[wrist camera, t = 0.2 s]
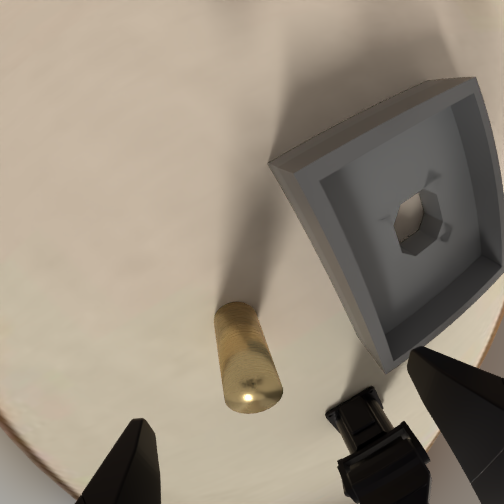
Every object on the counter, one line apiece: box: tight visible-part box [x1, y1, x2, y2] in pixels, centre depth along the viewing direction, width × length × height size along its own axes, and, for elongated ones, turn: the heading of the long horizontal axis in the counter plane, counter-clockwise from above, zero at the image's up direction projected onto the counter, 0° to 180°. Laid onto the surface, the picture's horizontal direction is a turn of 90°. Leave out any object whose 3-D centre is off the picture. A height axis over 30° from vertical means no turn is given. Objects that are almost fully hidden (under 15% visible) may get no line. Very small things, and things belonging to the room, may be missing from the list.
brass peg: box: [214, 302, 283, 414], centre depth 19 cm, size 3×3×8 cm
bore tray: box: [268, 77, 504, 374], centre depth 20 cm, size 18×16×6 cm
